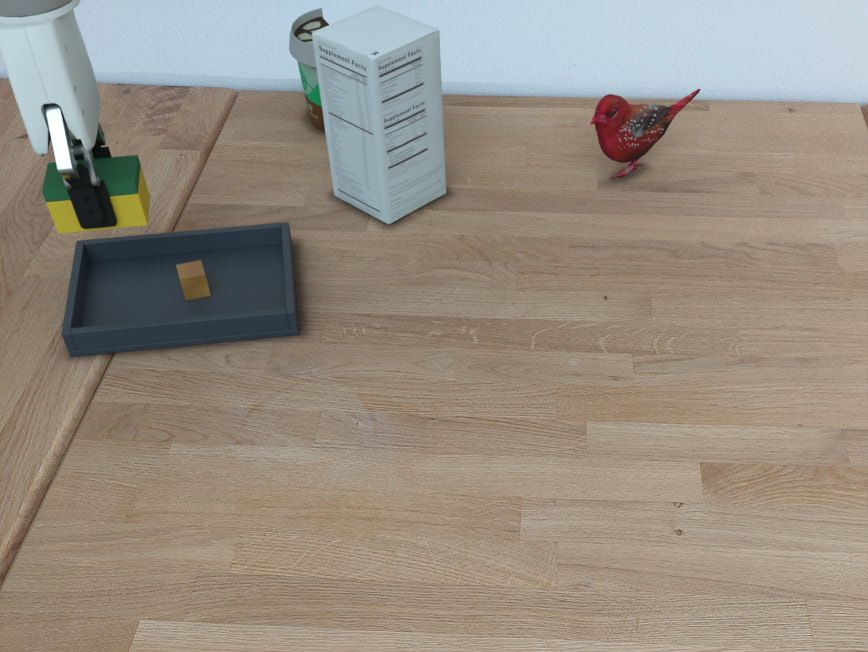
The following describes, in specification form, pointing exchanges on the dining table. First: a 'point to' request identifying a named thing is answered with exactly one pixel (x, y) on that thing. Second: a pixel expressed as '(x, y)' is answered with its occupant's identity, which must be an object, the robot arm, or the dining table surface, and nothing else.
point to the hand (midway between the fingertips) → (101, 206)
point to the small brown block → (193, 280)
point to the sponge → (122, 188)
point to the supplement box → (382, 111)
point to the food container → (308, 61)
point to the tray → (180, 290)
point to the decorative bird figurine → (632, 127)
